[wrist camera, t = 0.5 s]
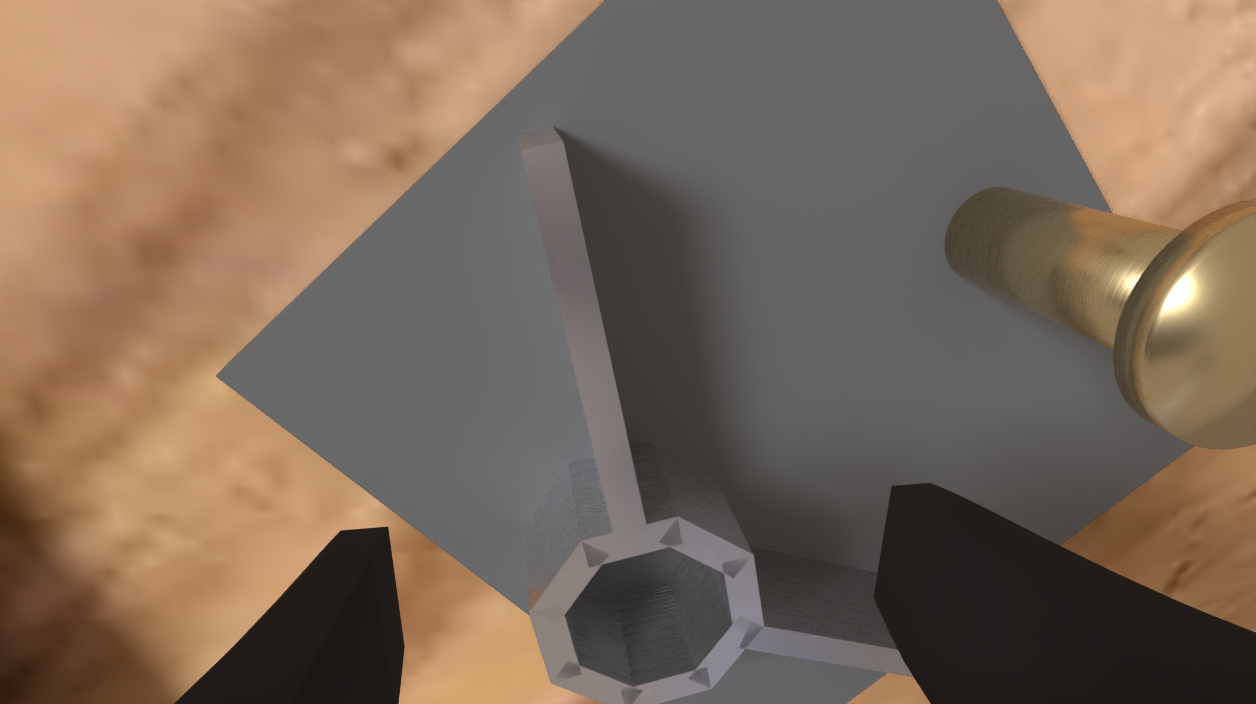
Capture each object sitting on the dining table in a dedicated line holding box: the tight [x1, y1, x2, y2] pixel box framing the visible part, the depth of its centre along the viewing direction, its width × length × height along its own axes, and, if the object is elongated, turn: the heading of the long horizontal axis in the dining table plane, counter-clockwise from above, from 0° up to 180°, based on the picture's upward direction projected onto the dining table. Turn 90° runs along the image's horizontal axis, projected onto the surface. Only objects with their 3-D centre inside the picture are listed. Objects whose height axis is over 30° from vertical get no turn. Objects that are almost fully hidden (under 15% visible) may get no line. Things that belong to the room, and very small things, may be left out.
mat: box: [216, 0, 1194, 704], centre depth 21 cm, size 22×20×1 cm
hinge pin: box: [945, 187, 1256, 449], centre depth 16 cm, size 4×4×8 cm
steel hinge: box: [519, 126, 913, 704], centre depth 19 cm, size 18×13×4 cm
